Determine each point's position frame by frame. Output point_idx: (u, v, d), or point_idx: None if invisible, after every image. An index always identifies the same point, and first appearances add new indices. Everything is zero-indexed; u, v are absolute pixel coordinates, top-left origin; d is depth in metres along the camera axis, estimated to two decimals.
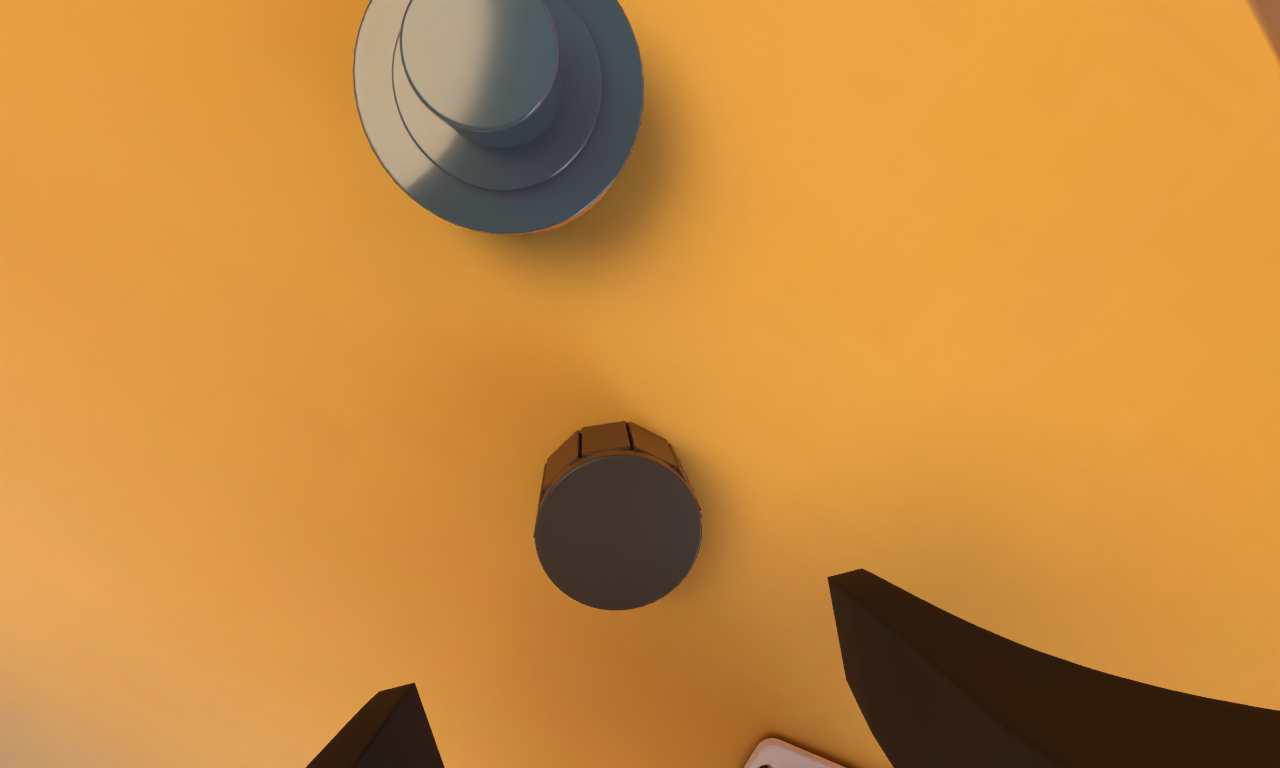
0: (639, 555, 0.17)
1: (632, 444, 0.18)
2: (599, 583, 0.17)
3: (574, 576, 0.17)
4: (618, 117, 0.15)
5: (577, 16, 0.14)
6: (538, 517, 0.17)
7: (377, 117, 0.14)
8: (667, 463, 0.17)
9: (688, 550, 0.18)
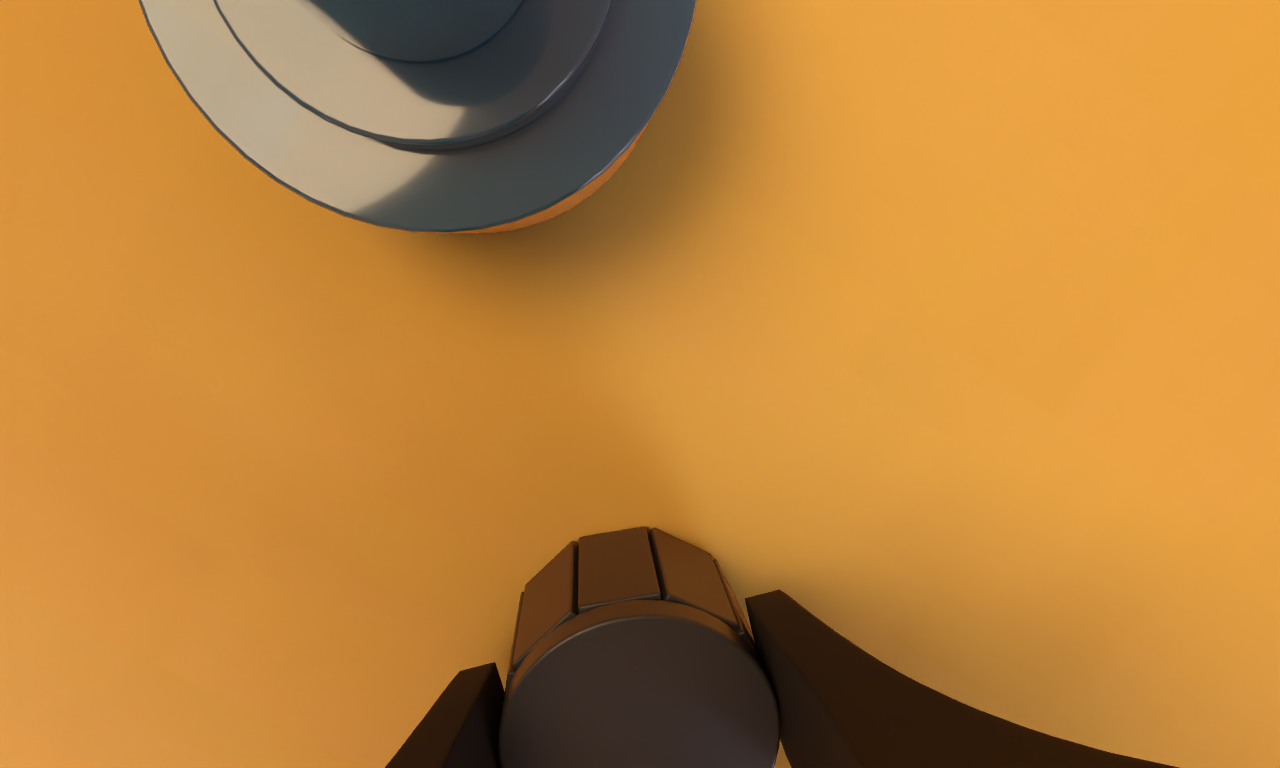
0: None
1: (662, 584, 0.11)
2: None
3: None
4: (651, 6, 0.08)
5: None
6: (503, 720, 0.10)
7: (173, 0, 0.07)
8: (722, 620, 0.10)
9: (757, 765, 0.10)
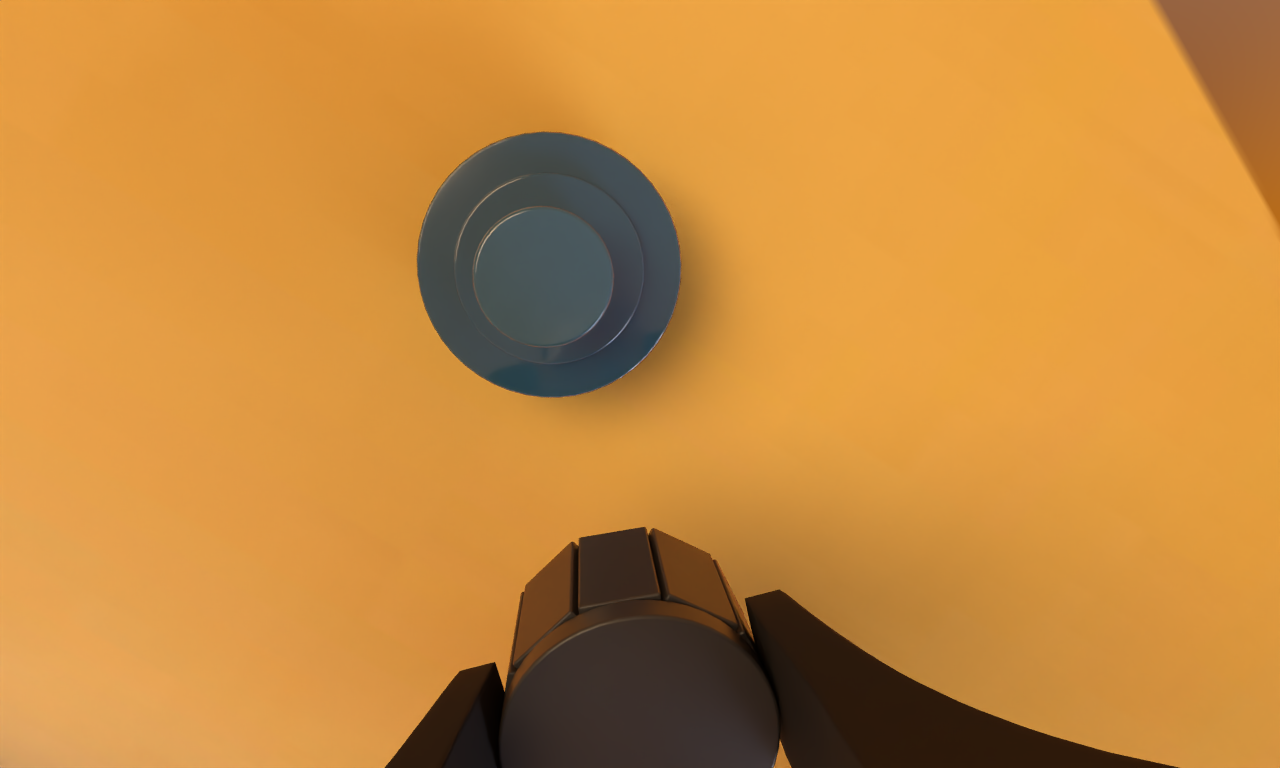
0: None
1: (663, 584, 0.11)
2: None
3: None
4: (657, 294, 0.16)
5: (622, 213, 0.15)
6: (503, 720, 0.10)
7: (438, 298, 0.16)
8: (722, 620, 0.10)
9: (757, 765, 0.10)
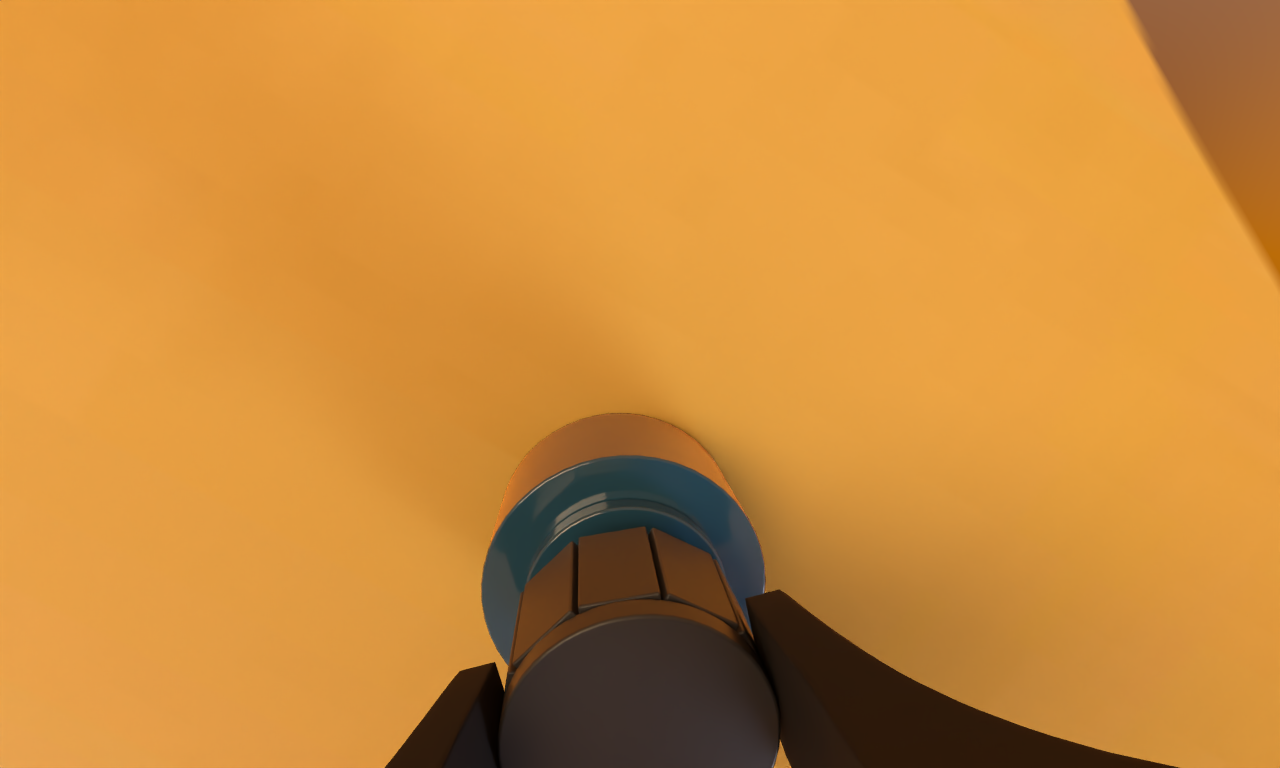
0: None
1: (662, 584, 0.11)
2: None
3: None
4: None
5: (707, 543, 0.14)
6: (503, 720, 0.10)
7: (504, 624, 0.14)
8: (722, 619, 0.10)
9: (757, 765, 0.10)
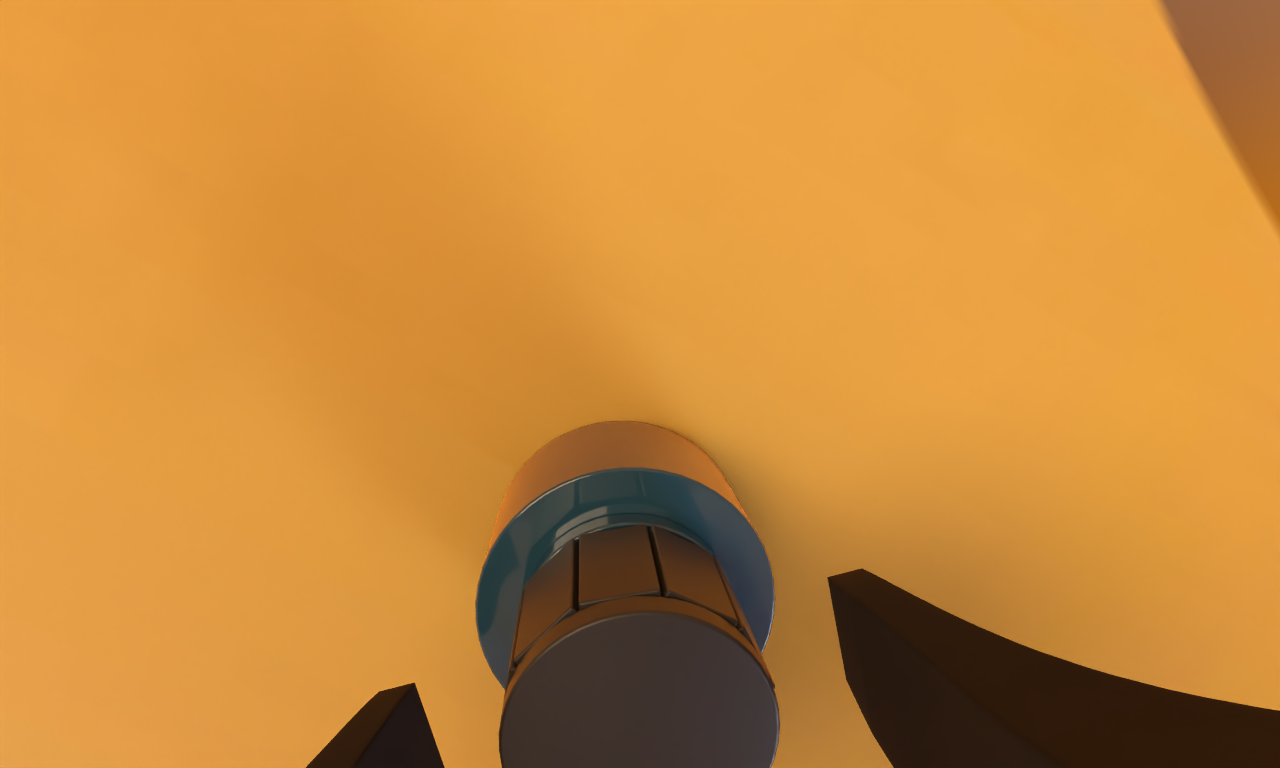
0: None
1: (662, 581, 0.11)
2: None
3: None
4: None
5: None
6: (504, 715, 0.10)
7: (499, 645, 0.14)
8: (722, 616, 0.10)
9: (757, 760, 0.10)
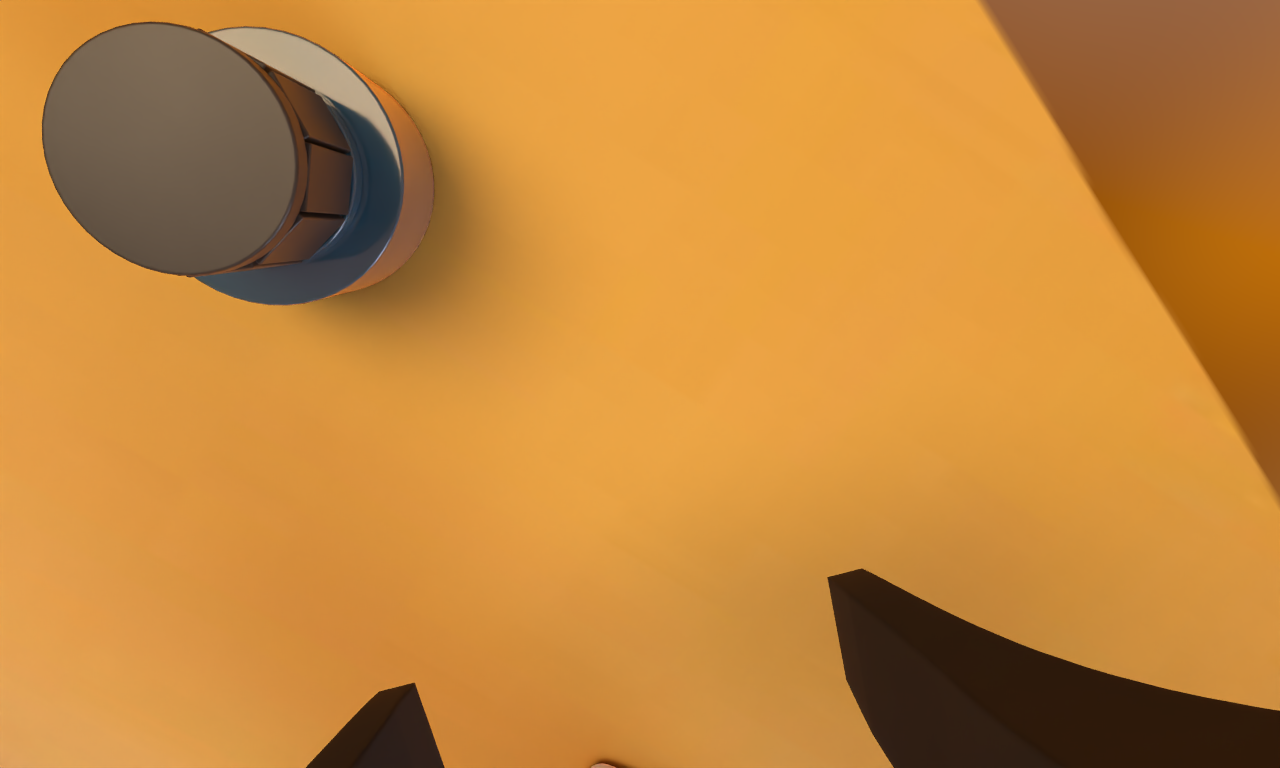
0: (206, 187, 0.12)
1: None
2: (151, 229, 0.12)
3: (111, 216, 0.12)
4: (380, 198, 0.16)
5: None
6: (43, 118, 0.12)
7: None
8: (248, 55, 0.12)
9: (280, 182, 0.12)
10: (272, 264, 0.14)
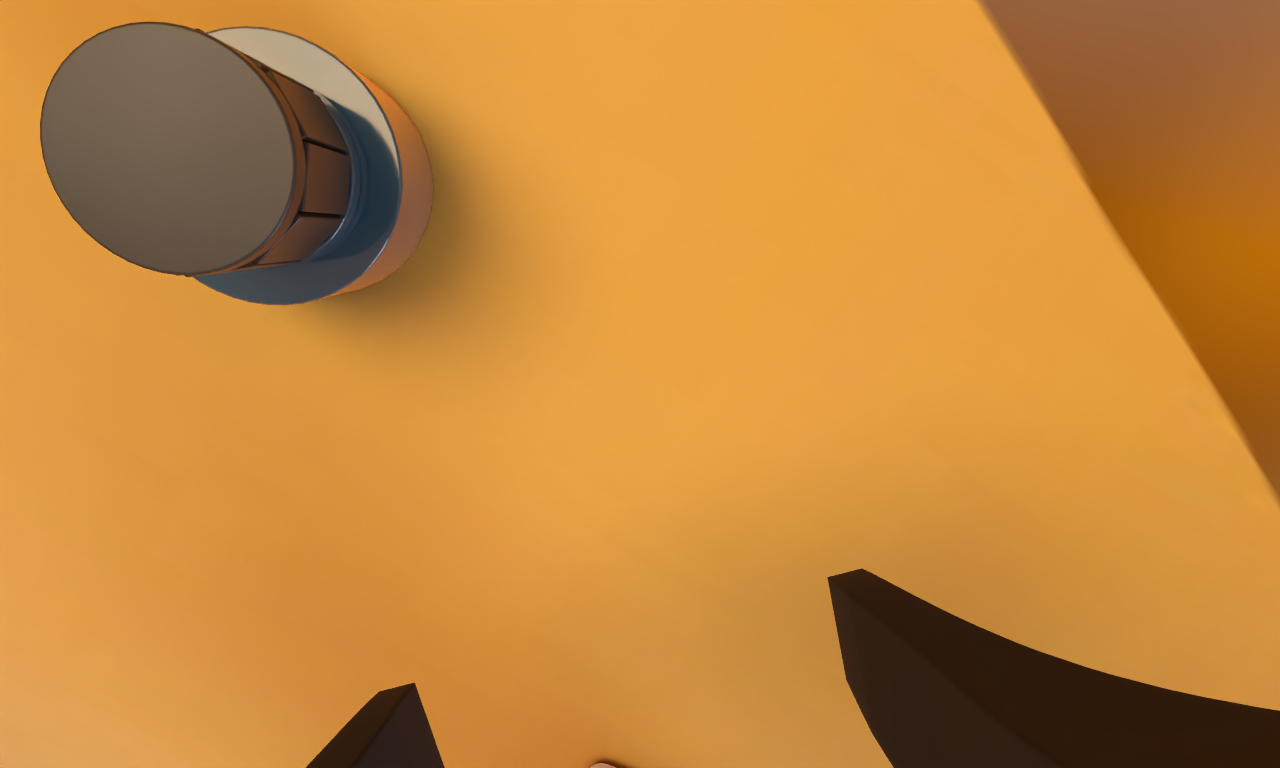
0: (204, 187, 0.12)
1: None
2: (149, 229, 0.12)
3: (109, 217, 0.12)
4: (379, 198, 0.16)
5: None
6: (41, 118, 0.12)
7: None
8: (246, 55, 0.12)
9: (278, 182, 0.12)
10: (270, 264, 0.14)
